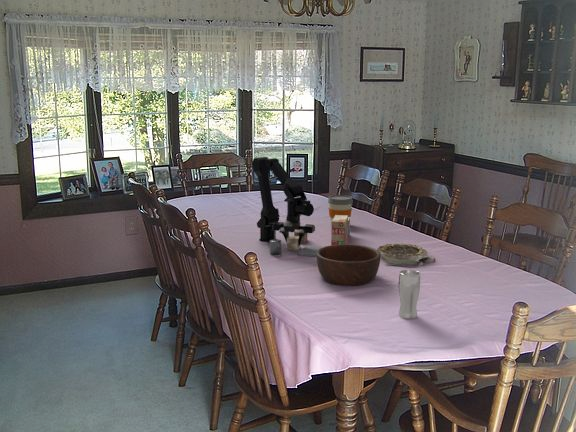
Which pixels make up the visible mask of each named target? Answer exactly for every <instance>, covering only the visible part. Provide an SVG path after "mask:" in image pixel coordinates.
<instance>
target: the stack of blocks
mask: <svg viewBox="0 0 576 432" xmlns="http://www.w3.org/2000/svg"><path fill="white" fill-rule="evenodd" d="M350 220H351V217H348V216H347V215H335V217H334V218H333V220H332V226H331V237H330V238H331V241H330V243H331V244H330V245H338V244H348V240H349V238H350V236H351V221H350Z"/></svg>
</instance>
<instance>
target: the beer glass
mask: <svg viewBox="0 0 576 432" xmlns="http://www.w3.org/2000/svg"><path fill="white" fill-rule="evenodd" d="M398 278H399V279H398V294H399V295H398V296H399V311H398V316H399V317H400V319H401V318H402V319H405V320H414V319H416V318H417V317H418V309H417V305H418V300H419V296H420V291H421V272H420V271H418V270H415V269H401V270H400V271H399V277H398Z"/></svg>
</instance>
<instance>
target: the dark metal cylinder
mask: <svg viewBox="0 0 576 432" xmlns="http://www.w3.org/2000/svg"><path fill="white" fill-rule="evenodd" d="M270 254H271V255H270ZM269 255H270V256H280V255H282V240H281V239H280V238H279V239H277V238H275V239H272V240H270V241H269Z"/></svg>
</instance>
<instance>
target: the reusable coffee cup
mask: <svg viewBox="0 0 576 432" xmlns="http://www.w3.org/2000/svg"><path fill="white" fill-rule="evenodd" d="M327 201H328V202H327V203H328V215H329V216H328V217H330V219H329V220H330V225H331V227H332V220H333V218H334V217H335V215H347V216H348V217H350V218H351V216H352V210H353V208H352V204H353V197H352V196H350V195H346V194H334V195H329V196H328V200H327Z"/></svg>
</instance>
